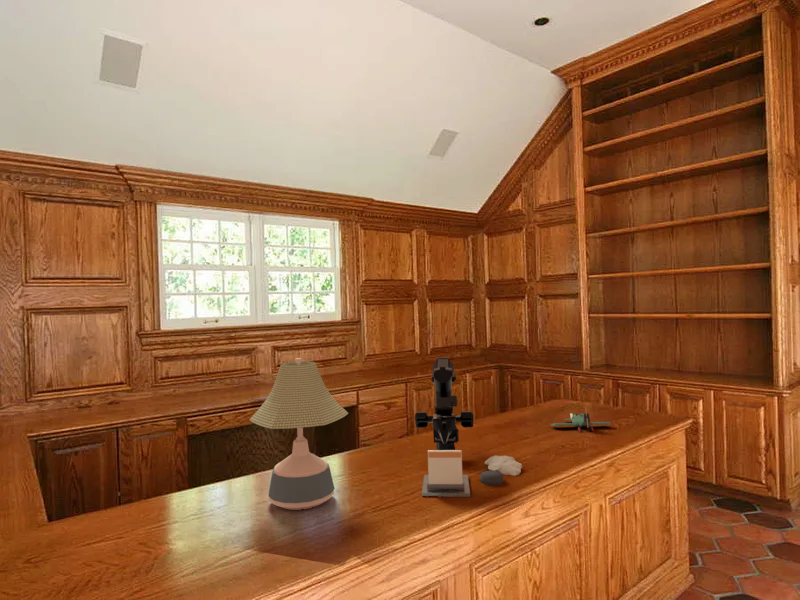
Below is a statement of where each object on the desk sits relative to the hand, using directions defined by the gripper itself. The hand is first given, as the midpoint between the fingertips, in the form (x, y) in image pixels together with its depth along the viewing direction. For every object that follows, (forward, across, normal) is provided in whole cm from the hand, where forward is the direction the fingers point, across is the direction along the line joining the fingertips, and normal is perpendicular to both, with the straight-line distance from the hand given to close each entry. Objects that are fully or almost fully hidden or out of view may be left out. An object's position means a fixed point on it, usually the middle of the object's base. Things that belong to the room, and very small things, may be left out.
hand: (444, 443), depth 156 cm
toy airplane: (-41, +59, +60) cm, 93 cm away
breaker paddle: (+13, 0, +2) cm, 13 cm away
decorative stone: (-1, +20, +19) cm, 28 cm away
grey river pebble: (+8, +14, +11) cm, 20 cm away
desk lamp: (+19, -42, -1) cm, 46 cm away
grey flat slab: (+11, 0, +7) cm, 13 cm away
